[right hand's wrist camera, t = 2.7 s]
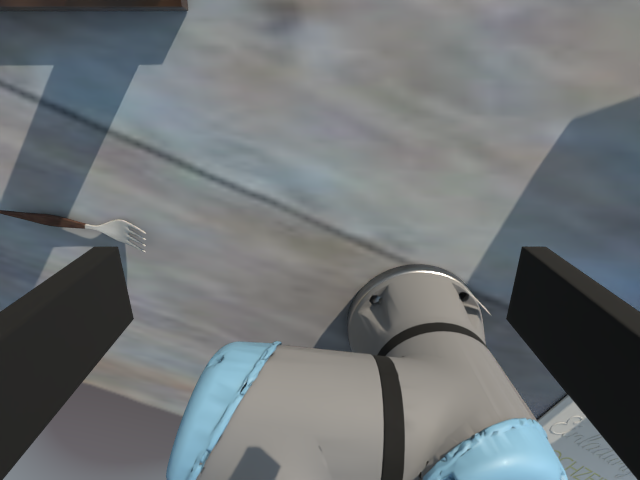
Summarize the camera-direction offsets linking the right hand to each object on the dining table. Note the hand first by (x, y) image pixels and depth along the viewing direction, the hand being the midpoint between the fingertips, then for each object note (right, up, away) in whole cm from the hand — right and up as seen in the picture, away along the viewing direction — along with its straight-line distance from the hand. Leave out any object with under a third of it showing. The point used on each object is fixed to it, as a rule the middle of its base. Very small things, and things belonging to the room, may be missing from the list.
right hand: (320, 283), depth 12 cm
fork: (-26, +3, +27) cm, 38 cm away
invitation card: (+37, -30, +41) cm, 62 cm away
